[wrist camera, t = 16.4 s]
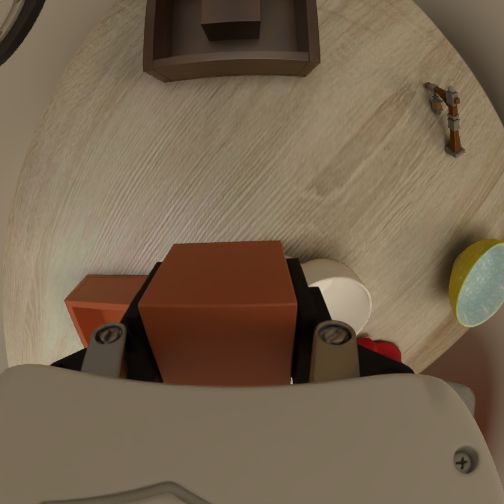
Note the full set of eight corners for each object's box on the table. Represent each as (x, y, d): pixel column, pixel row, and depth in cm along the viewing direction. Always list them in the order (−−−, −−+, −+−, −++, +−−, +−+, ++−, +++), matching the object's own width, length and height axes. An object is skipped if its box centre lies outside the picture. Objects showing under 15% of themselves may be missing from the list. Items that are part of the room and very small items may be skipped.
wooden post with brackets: (430, 73, 18) (462, 87, 15) (440, 134, 24) (467, 153, 21) (418, 77, 19) (451, 92, 16) (430, 140, 24) (457, 159, 21)
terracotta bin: (112, 347, 33) (98, 375, 28) (87, 274, 29) (63, 299, 23) (199, 354, 33) (192, 387, 28) (185, 275, 28) (173, 306, 23)
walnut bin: (164, 82, 21) (142, 71, 15) (168, -14, 16) (152, -39, 11) (305, 76, 20) (320, 62, 15) (299, -21, 16) (309, -48, 11)
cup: (314, 318, 31) (326, 359, 25) (246, 270, 28) (245, 310, 22) (363, 272, 28) (387, 307, 22) (298, 214, 26) (313, 241, 20)
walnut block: (208, 41, 18) (200, 24, 14) (209, 3, 17) (201, -18, 13) (259, 39, 18) (261, 21, 14) (258, 1, 17) (259, -21, 13)
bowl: (448, 216, 26) (481, 236, 20) (498, 230, 26) (526, 248, 21) (419, 300, 30) (442, 329, 25) (471, 301, 31) (493, 324, 25)
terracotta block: (188, 326, 13) (169, 398, 9) (173, 243, 11) (136, 304, 7) (279, 325, 13) (288, 399, 9) (281, 239, 11) (298, 302, 7)
